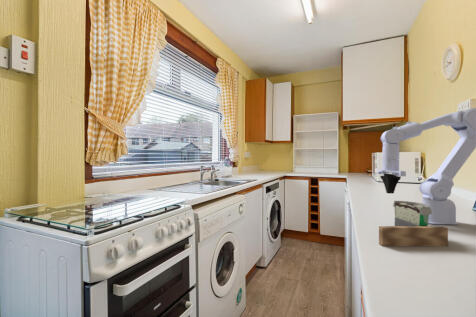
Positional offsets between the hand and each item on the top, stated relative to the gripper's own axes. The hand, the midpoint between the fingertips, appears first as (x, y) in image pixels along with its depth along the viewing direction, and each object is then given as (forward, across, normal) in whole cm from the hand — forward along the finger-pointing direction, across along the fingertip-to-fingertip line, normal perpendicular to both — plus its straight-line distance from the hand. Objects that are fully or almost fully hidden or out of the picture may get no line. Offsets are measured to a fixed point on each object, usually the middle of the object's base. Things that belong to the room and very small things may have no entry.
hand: (390, 193), depth 93 cm
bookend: (+10, +23, -13) cm, 28 cm away
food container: (+11, +21, -5) cm, 24 cm away
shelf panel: (+10, +29, -12) cm, 33 cm away
